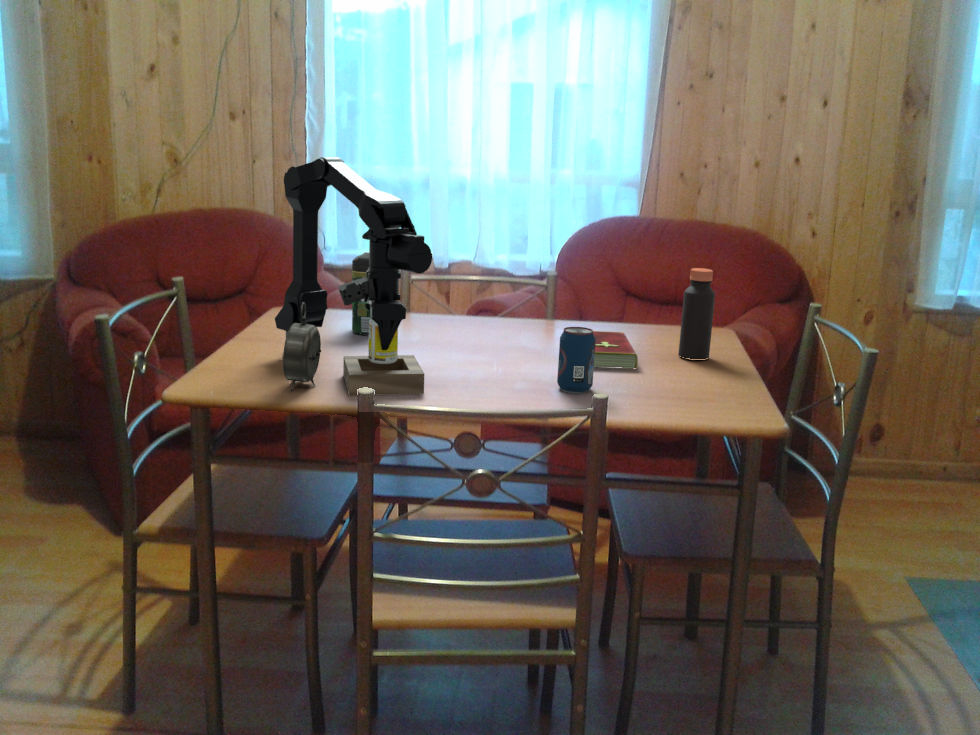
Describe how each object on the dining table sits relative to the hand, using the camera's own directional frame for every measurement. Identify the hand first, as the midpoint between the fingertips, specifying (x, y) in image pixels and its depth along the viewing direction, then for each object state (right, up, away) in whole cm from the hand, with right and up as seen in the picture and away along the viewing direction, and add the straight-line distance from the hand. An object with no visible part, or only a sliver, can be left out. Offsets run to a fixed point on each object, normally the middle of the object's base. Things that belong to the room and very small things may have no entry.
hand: (382, 346), depth 194 cm
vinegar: (+66, -2, +34) cm, 74 cm away
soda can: (+37, -9, +4) cm, 38 cm away
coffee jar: (-8, +4, +46) cm, 47 cm away
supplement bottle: (0, -3, +1) cm, 3 cm away
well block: (0, -7, +2) cm, 8 cm away
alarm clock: (-15, -8, -1) cm, 17 cm away
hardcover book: (+46, -2, +31) cm, 56 cm away
